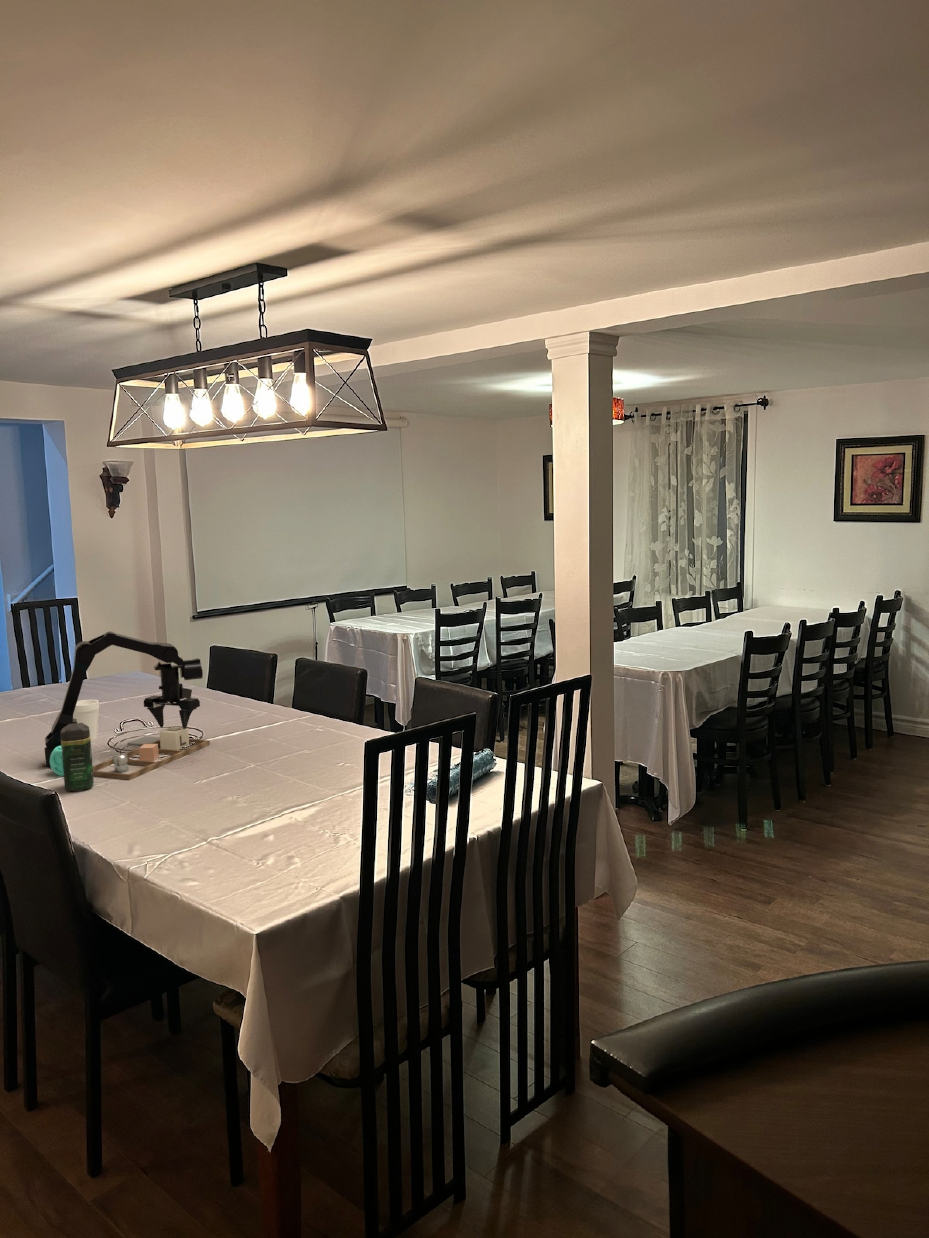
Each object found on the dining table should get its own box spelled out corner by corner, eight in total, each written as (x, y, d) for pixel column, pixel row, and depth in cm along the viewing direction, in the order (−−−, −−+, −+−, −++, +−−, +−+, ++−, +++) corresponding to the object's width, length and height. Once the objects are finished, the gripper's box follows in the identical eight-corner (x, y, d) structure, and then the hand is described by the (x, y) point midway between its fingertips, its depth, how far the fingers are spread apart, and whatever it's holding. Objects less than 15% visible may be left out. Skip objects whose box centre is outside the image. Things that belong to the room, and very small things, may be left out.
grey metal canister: (122, 773, 275) (121, 757, 274) (111, 772, 276) (110, 756, 275) (131, 769, 278) (130, 753, 278) (120, 768, 280) (119, 752, 279)
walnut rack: (129, 779, 268) (129, 775, 268) (82, 775, 274) (82, 770, 274) (209, 744, 304) (209, 740, 304) (166, 741, 310) (166, 736, 310)
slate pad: (148, 746, 304) (148, 744, 304) (127, 744, 307) (127, 742, 307) (166, 739, 313) (166, 737, 312) (145, 737, 316) (145, 736, 316)
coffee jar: (94, 790, 259) (88, 727, 257) (64, 793, 257) (58, 730, 254) (95, 780, 268) (89, 719, 266) (66, 784, 266) (60, 722, 263)
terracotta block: (154, 761, 287) (153, 747, 286) (140, 761, 287) (138, 748, 286) (158, 757, 291) (157, 743, 291) (145, 757, 291) (144, 744, 291)
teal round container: (90, 769, 280) (88, 744, 279) (72, 776, 273) (70, 751, 271) (68, 767, 282) (66, 742, 281) (50, 775, 275) (48, 749, 274)
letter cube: (177, 752, 297) (175, 732, 296) (160, 750, 299) (159, 731, 298) (189, 746, 303) (188, 727, 302) (173, 745, 305) (172, 726, 304)
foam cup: (77, 743, 310) (74, 707, 308) (69, 738, 317) (66, 702, 315) (105, 738, 316) (102, 702, 314) (97, 733, 323) (94, 698, 321)
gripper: (208, 678, 302) (211, 723, 304) (163, 675, 308) (166, 720, 311) (187, 685, 292) (190, 732, 294) (140, 682, 298) (144, 728, 300)
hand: (173, 727), depth 300 cm, fingers open, 9 cm apart
